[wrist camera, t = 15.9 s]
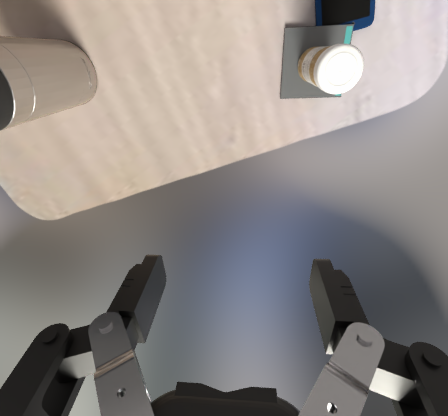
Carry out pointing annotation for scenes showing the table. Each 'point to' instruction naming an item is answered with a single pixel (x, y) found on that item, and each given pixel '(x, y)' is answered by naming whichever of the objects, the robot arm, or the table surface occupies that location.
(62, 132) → the table surface
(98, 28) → the table surface
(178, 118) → the table surface
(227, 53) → the table surface
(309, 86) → the mat
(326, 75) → the sprinkles bottle
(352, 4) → the cell phone
